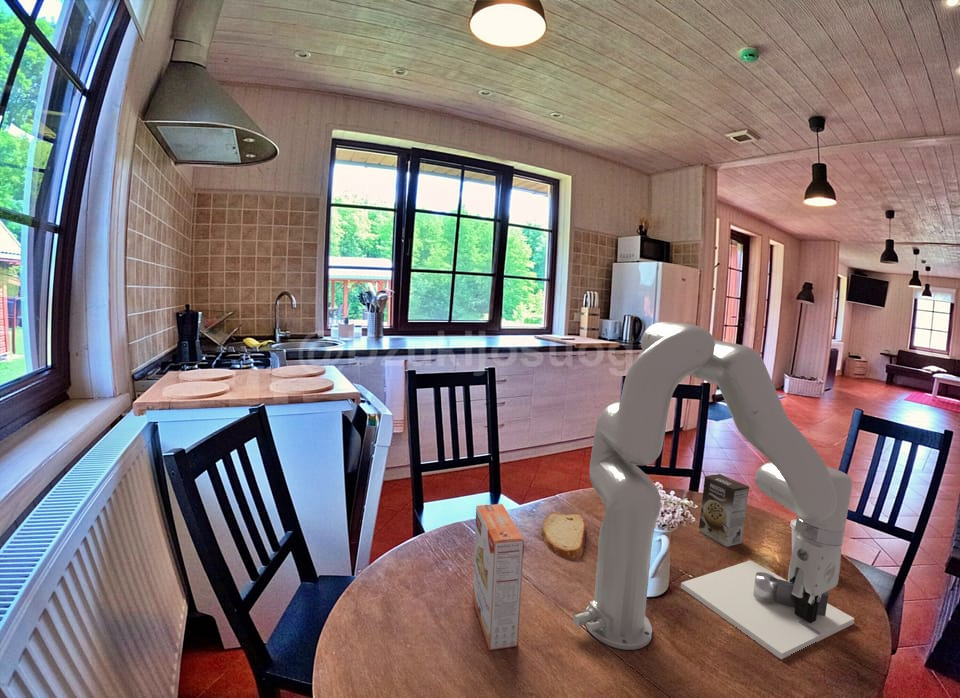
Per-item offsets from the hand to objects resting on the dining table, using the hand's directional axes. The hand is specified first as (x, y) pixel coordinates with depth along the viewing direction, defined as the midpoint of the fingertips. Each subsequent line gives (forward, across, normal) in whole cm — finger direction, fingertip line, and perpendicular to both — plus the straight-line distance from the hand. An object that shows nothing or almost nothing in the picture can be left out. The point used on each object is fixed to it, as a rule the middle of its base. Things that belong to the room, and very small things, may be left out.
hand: (804, 617), depth 92 cm
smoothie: (+2, +25, +13) cm, 28 cm away
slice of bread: (+3, -22, +47) cm, 52 cm away
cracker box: (+3, -56, +27) cm, 62 cm away
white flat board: (+2, -1, +7) cm, 8 cm away
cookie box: (+2, +17, +30) cm, 34 cm away
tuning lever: (0, +1, +4) cm, 4 cm away
